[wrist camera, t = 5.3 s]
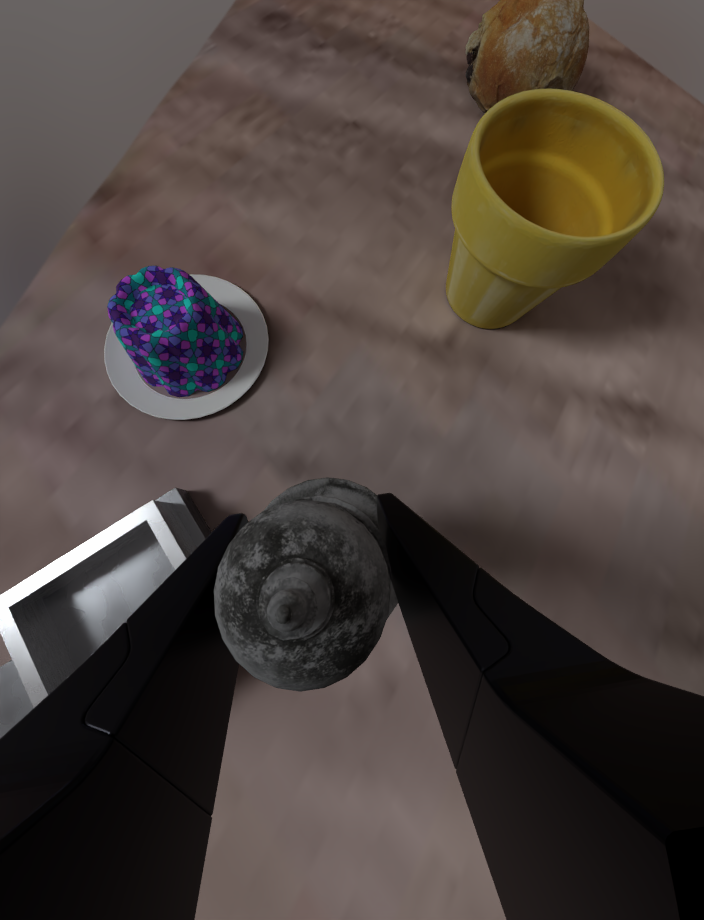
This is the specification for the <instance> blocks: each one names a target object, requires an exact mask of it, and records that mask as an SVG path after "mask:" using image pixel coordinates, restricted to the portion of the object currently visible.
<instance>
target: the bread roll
mask: <svg viewBox="0 0 704 920" xmlns="http://www.w3.org/2000/svg"><path fill="white" fill-rule="evenodd" d="M583 4H584V0H500V1H499V2H498V4H496V5H495V6H493V7H492V8H491V9H490V10H489V11H488V12H486V13H485V14H483V18H482V22H481V23H480V24H479V29H478V30H476V31H474V32H473V33H472V34H471V36H470V37H469V41H468V43H467V45H466V55H467V61H468V64H469V67H468V69H467V71H466V75H465V76H466V78H467V85H468V86H469V92H470V94H471V96H472V98H473V99H474V100H475V101H476V103H477V104H478V106H479V108H480V109H481V110H482V111H483V112H487V111H488V110H489V109H490V108H491V107H493V106H494V105H495V104H496V103H498V102H500V101H501V100H503V99H505V98H507V97H509V96H511V95H514V94H517V93H520V92H523V91H528V90H535V89H561V90H569V91H572V90H573V88H574V87H575V85H576V83H577V82H578V80H579V78H580V75H581V73H582V71H583V68H584V65H585V61H586V58H587V53H588V47H589V45H588V44H589V23H588V18H587V15H586V12H585V11H584V9H583Z"/></svg>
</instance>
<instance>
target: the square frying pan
mask: <svg viewBox="0 0 704 920" xmlns="http://www.w3.org/2000/svg"><path fill="white" fill-rule="evenodd" d="M210 534H211V531H210V529H209V528H208V526H207V524H206V523H205V521H204V519H203V517H202V516H201V514H200V512H199V511H198V509H197V507H196V506H195V504H194V502H193V501H192V499H191V497H190V496H189V494H188V492H187V491H186V490H182V489H178V488H174V489H173V490H171V491H169V492H168V493H166V494H165V495H163V496H161V497H160V498H158V499H157V500H152V501H150V502H149V503H147V504H146V505H144V506H142V507H141V508H139V509H138V510H136V511H134V512H133V513H131V514H130V515H128V516H126V517H125V518H123V519H122V520H120V521H118V522H117V523H115V524H114V525H112V526H110V527H109V528H107V529H106V530H104V531H102V532H101V533H99V534H98V535H96V536H94V537H93V538H91V539H90V540H88V541H87V542H85V543H83V544H82V545H80V546H79V547H77V548H75V549H74V550H72V551H71V552H69V553H67V554H66V555H64V556H63V557H61V558H59V559H58V560H56V561H55V562H53V563H51V564H50V565H48V566H47V567H45V568H43V569H42V570H40V571H39V572H37V573H35V574H34V575H32V576H31V577H29V578H27V579H26V580H24V581H23V582H21V583H20V584H18V585H16V586H15V587H13V588H12V589H10V590H8V591H7V592H5V593H4V594H2V595H0V633H1V635H2V637H3V640H4V642H5V644H6V646H7V649H8V651H9V653H10V655H11V658H12V660H11V661H9V662H8V663H6V664H4V665H3V666H1V667H0V738H1V737H3V736H4V735H5V734H6V733H7V732H8V731H9V730H10V729H11V728H12V727H14V726H15V725H16V724H17V723H18V722H19V721H20V720H21V719H22V718H24V717H25V716H26V715H27V714H28V713H29V712H30V711H31V710H32V709H33V708H35V707H36V706H37V705H38V704H39V703H40V702H41V701H42V700H43V699H45V698H46V697H47V696H48V695H49V694H50V693H51V692H52V691H53V690H54V689H56V688H57V687H58V686H59V685H60V684H61V683H62V682H63V681H64V680H65V679H66V678H67V677H68V676H70V675H71V674H72V673H73V672H74V671H75V670H76V669H77V668H78V667H79V666H80V665H81V664H82V663H84V662H85V661H86V660H87V659H88V658H89V657H90V656H91V655H92V654H93V653H94V652H95V651H96V650H97V649H98V648H99V647H100V646H101V645H102V644H103V643H104V642H105V641H106V640H107V639H108V638H109V637H110V636H111V635H112V634H113V633H114V632H115V631H116V630H117V629H118V628H119V627H120V626H121V625H122V624H123V623H127V622H126V621H127V619H128V618H129V617H130V616H131V615H132V614H133V613H134V612H135V611H136V610H137V608H138V607H139V606H140V605H141V604H142V603H143V602H144V601H145V600H146V599H147V598H148V597H149V596H150V595H151V594H152V593H153V592H154V591H155V590H156V589H157V588H158V587H159V586H160V585H161V584H162V583H163V582H164V581H165V580H166V579H167V578H168V577H169V576H170V575H171V574H172V573H173V572H174V571H175V570H176V569H177V568H178V567H179V566H180V565H181V564H182V563H183V561H184V560H185V559H186V558H187V557H188V556H189V555H190V554H191V553H192V552H193V551H194V550H195V549H196V548H197V547H198V546H199V545H200V544H201V543H202V542H203V541H204V540H205V539H206V538H207V537H208V536H209V535H210Z"/></svg>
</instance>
